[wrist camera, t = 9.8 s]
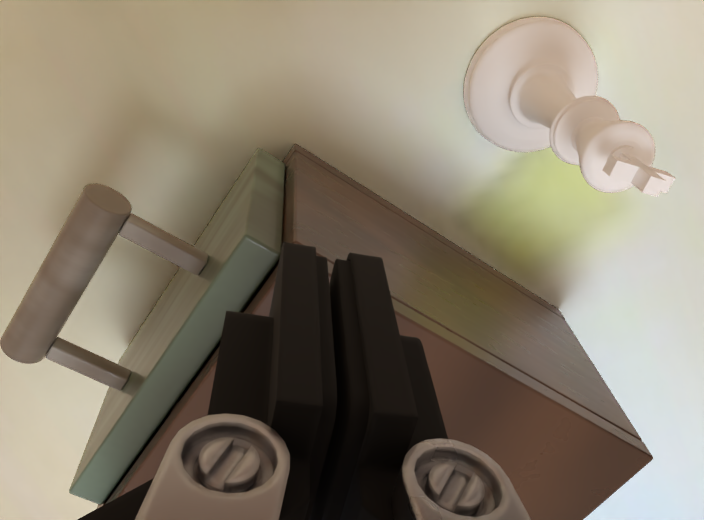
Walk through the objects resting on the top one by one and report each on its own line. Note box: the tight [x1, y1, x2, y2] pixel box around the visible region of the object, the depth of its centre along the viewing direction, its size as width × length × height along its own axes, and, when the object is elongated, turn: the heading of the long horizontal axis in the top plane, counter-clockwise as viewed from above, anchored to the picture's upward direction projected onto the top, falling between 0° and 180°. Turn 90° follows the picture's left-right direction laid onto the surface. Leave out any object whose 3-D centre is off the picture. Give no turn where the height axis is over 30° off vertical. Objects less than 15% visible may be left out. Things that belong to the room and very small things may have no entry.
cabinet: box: [97, 144, 653, 520], centre depth 26 cm, size 14×13×9 cm
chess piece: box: [464, 17, 675, 197], centre depth 20 cm, size 5×5×10 cm
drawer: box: [0, 148, 285, 505], centre depth 25 cm, size 17×11×7 cm, turn 55°
